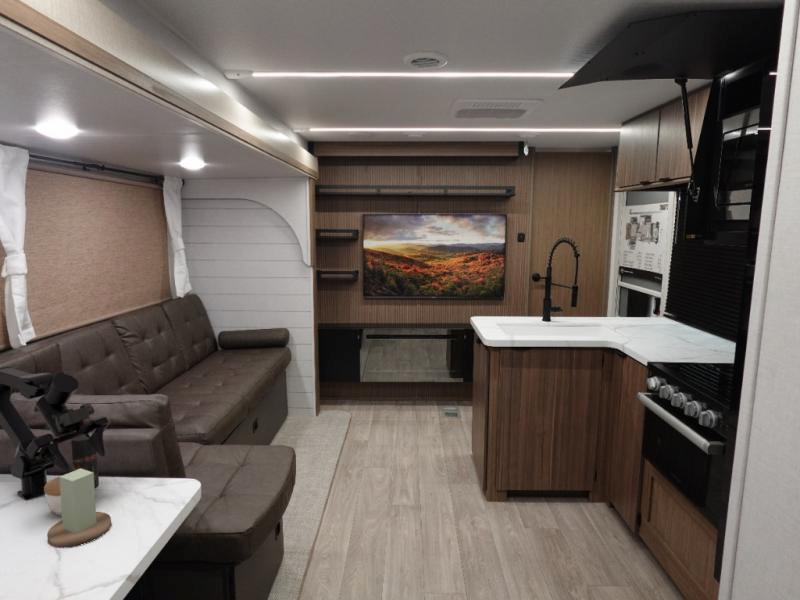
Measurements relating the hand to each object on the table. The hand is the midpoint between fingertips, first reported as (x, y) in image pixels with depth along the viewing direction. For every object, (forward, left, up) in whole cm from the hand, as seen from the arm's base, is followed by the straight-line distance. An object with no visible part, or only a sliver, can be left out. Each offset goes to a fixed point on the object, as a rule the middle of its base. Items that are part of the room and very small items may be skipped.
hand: (86, 462), depth 129 cm
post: (+8, -5, -12) cm, 15 cm away
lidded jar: (-5, -2, -14) cm, 15 cm away
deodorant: (-15, +6, -14) cm, 21 cm away
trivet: (+8, -5, -14) cm, 16 cm away
